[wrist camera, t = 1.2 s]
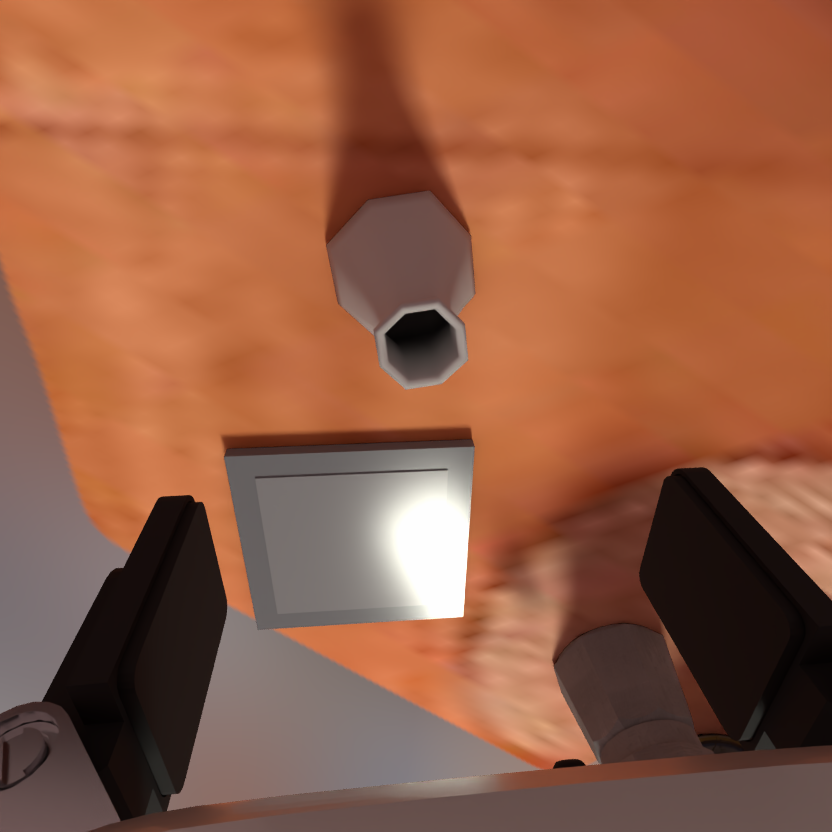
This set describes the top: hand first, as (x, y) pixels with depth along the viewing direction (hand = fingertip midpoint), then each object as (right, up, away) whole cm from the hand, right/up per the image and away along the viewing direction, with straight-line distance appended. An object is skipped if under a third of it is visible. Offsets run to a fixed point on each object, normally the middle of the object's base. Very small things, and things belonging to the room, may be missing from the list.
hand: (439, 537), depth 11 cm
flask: (-1, +10, +16) cm, 19 cm away
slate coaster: (-4, -5, +24) cm, 25 cm away
